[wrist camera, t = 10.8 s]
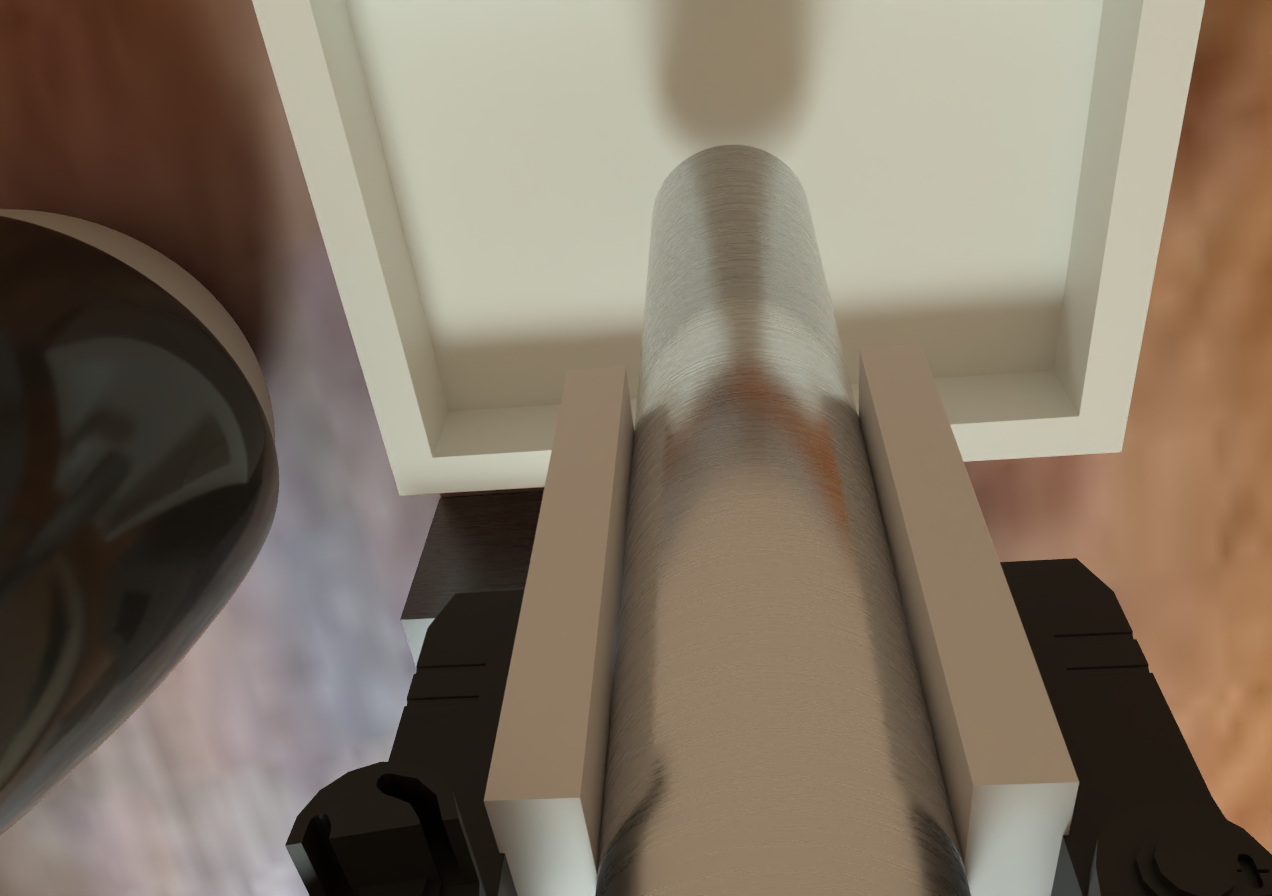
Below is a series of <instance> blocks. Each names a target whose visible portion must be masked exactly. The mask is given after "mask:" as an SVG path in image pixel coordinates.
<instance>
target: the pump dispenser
mask: <svg viewBox="0 0 1272 896" xmlns="http://www.w3.org/2000/svg"><path fill="white" fill-rule="evenodd" d="M278 493H279V469H278V460H277V454H276V448H275V429H274V419H273V411H272V406H271V401H270V396H269V392H268V388H267V385H266V382H265V379H264V376H263V373H262V370H261V368H260V365H259V363H258V361H257V359H256V357H255V354H254V352H253V350H252V349H251V347H250V345H249V343H248V341H247V340H246V338H245V336H244V334H243V333H242V331H241V330H240V328H239V327H238V326H237V324H236V323H235V321H234V320H233V318H232V317H231V316H230V314H229V313H228V312H227V311H226V309H225V308H224V307H223V306H222V305H221V303H220V302H219V301H218V300H217V299H216V298H215V297H214V296H213V295H212V294H211V293H210V292H209V291H208V290H207V289H206V288H205V287H204V286H203V285H202V284H201V283H200V282H199V281H197V280H196V279H195V278H194V277H193V276H192V275H191V274H189V273H188V272H187V271H185V270H184V269H183V268H182V267H180V266H179V265H178V264H176V263H175V262H173V261H172V260H170V259H169V258H167V257H166V256H164V255H163V254H161V253H160V252H158V251H156V250H155V249H153V248H151V247H149V246H148V245H146V244H144V243H142V242H140V241H138V240H136V239H134V238H132V237H130V236H128V235H126V234H123V233H121V232H118V231H116V230H113V229H111V228H108V227H105V226H103V225H100V224H97V223H93V222H90V221H87V220H83V219H80V218H76V217H71V216H66V215H62V214H57V213H51V212H43V211H35V210H19V209H0V836H1V835H2V834H3V833H4V832H6V831H7V830H8V829H9V828H10V827H12V826H13V825H14V824H15V823H16V822H17V821H19V820H20V819H21V818H22V817H23V816H24V815H26V814H27V813H28V812H29V811H30V810H31V809H32V808H33V807H35V806H36V805H37V804H38V803H39V802H40V801H41V800H42V799H44V798H45V797H46V796H47V795H48V794H49V793H50V792H51V791H52V790H53V789H55V788H56V787H57V786H58V785H59V784H60V783H61V782H62V781H63V780H64V779H65V778H67V777H68V776H69V775H70V774H71V773H72V772H73V771H74V770H75V769H76V768H77V767H78V766H79V765H80V764H82V763H83V762H84V761H85V760H86V759H87V758H88V757H89V756H90V755H91V754H92V753H93V752H94V751H95V750H96V749H97V748H98V747H99V746H101V745H102V744H103V743H104V742H105V741H106V740H107V739H108V738H109V737H110V736H111V735H112V734H113V733H114V732H115V731H116V730H117V729H118V728H119V727H120V726H121V725H122V724H123V723H124V722H125V721H126V720H127V719H128V718H129V717H130V716H131V715H132V714H133V713H134V712H135V711H136V710H137V709H138V708H139V707H140V706H141V705H142V704H143V703H144V702H145V700H146V699H147V698H148V697H149V696H150V695H151V694H152V693H153V692H154V691H155V690H156V689H157V688H158V687H159V685H160V684H161V683H162V682H163V681H164V680H165V679H166V678H167V677H168V675H169V674H170V673H171V672H172V671H173V670H174V668H175V667H176V666H177V665H178V664H179V663H180V661H181V660H182V659H183V658H184V657H185V655H186V654H187V653H188V652H189V651H190V649H191V648H192V647H193V646H194V645H195V643H196V642H197V641H198V640H199V638H200V637H201V636H202V635H203V633H204V632H205V631H206V630H207V628H208V627H209V626H210V625H211V623H212V622H213V621H214V620H215V618H216V617H217V616H218V614H219V613H220V612H221V611H222V609H223V608H224V607H225V605H226V604H227V603H228V602H229V600H230V599H231V597H232V596H233V595H234V593H235V592H236V590H237V589H238V587H239V586H240V585H241V583H242V582H243V580H244V578H245V577H246V575H247V574H248V572H249V570H250V569H251V567H252V565H253V563H254V562H255V560H256V558H257V556H258V554H259V553H260V551H261V549H262V547H263V545H264V543H265V541H266V538H267V536H268V534H269V531H270V529H271V526H272V523H273V520H274V516H275V512H276V507H277V502H278Z"/></svg>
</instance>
